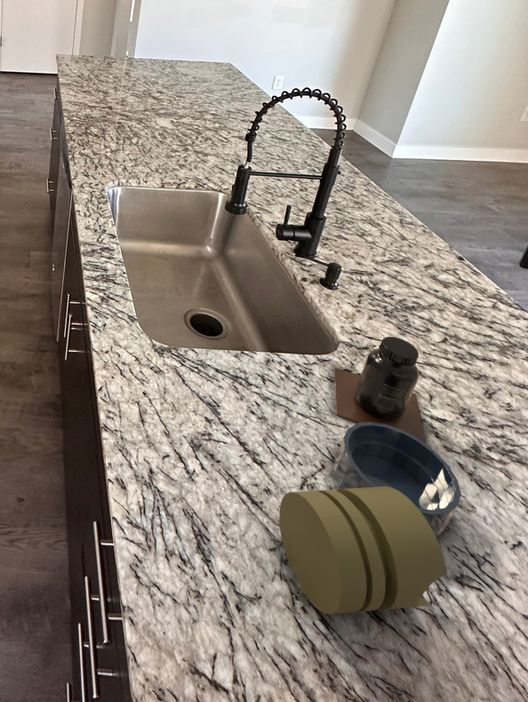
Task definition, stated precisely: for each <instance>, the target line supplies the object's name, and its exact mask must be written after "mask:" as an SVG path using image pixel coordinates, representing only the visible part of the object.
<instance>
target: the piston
mask: <svg viewBox="0 0 528 702" xmlns="http://www.w3.org/2000/svg"><path fill="white" fill-rule="evenodd" d="M278 513H279V514H278V515H279V516H278V517H279V518H278V519H279V520H278V521H279V531H280V537H281V542H282V546H283V549H284V553H285V557H286V559H287V562H288V564H289V565H290V567H291V570H292V572H293V574H294V576H295V578H296V580H297V582H298V584H299V586H300V588H301V590H302V592H303V594H304V596H305V598H307V599H308V601H309V603H311V605H312V606H313V607H314V608H316V609H317V610H318V611H319V612H321V613H322V614H326V615H336V614H347V613H349V614H350V613H357V612H358V613H359V612H360V613H362V612H371V611H377V610H383V611H384V610H396V609H397V610H399V609H410V608H411V609H412V608H420V607H429V604H428V602H427V601H426V599H425V598H423V595H425V592H426V591H427V590H428V588H430V586H431V585H433V583H434V582H435V581H437V580H438V579H439V578H442V577H446V576H448V573H447V566H446V561H445V558H444V554H443V551H442V548H441V545H440V543H439V541H438V539H437V537H435V534H434V532H433V531H432V529H431V527H430V525H429V523H428V522H427V520H426V519H425V517H424V516H423V514H422V513H421V512H420V510H419V509H418V508H417V507H416V506H415V504H414V503H413V502H412V501H411V500H410V499H409V498H407V497H406V496H405V495H404V494H402V493H401V492H400V491H398V490H396V489H394V488H391V487H385V486H384V487H368V488H351V489H341V488H339V489H336V490H335V489H320V490H305V491H303V490H302V491H289V492H287V493H285V494H284V496H282V499H281V502H280V505H279V512H278Z"/></svg>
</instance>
